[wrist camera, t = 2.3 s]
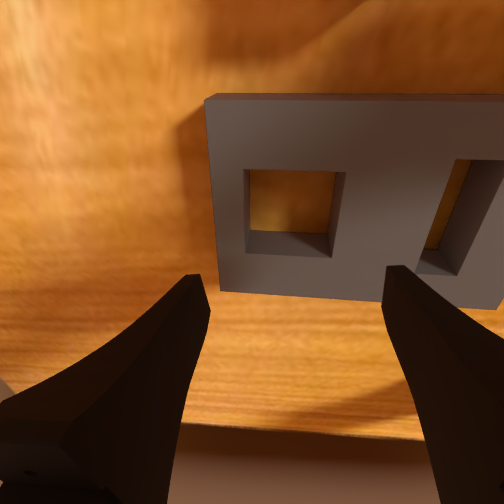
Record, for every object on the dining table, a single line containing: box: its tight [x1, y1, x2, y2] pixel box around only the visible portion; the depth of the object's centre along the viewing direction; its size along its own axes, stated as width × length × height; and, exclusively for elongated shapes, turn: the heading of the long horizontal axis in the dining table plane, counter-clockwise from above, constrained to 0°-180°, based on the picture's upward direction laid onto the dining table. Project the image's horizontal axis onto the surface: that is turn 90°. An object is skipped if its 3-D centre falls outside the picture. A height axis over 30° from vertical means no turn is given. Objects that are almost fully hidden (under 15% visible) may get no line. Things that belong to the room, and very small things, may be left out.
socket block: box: [204, 93, 504, 310], centre depth 18 cm, size 18×12×3 cm, turn 90°
